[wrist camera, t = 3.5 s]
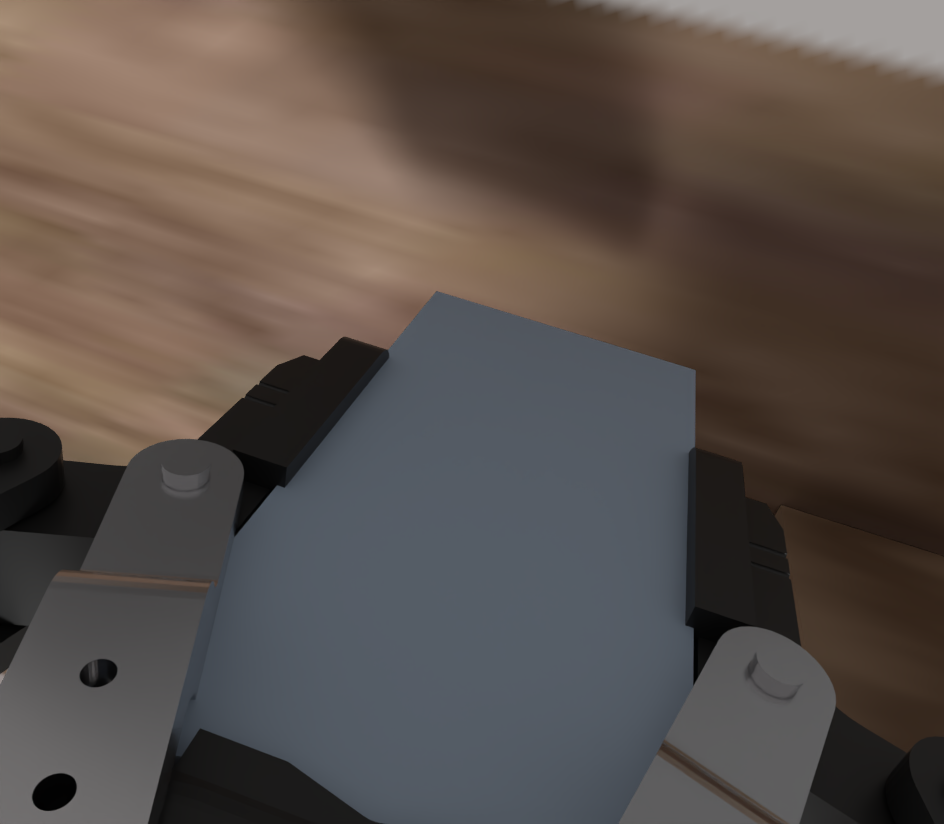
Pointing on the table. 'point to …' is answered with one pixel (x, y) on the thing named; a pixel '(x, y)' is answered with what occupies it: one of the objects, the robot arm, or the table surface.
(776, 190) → the table surface
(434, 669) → the blue tile
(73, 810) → the robot arm
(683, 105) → the table surface
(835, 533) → the tile
